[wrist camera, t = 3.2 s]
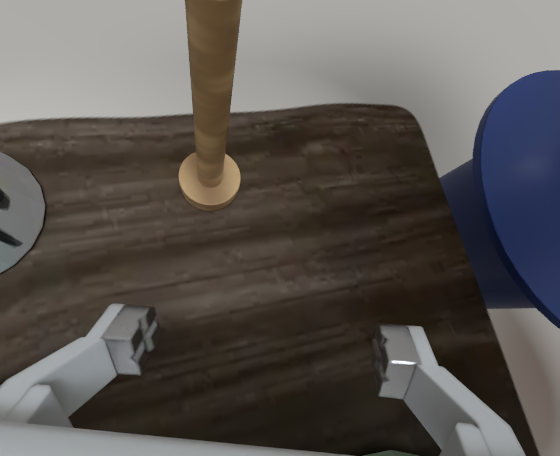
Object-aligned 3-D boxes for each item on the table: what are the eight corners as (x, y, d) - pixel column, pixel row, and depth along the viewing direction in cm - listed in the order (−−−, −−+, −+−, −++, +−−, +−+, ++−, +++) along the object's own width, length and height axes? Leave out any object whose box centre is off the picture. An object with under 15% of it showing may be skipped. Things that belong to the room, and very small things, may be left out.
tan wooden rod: (227, 151, 29) (255, -84, 12) (247, 200, 28) (309, 25, 11) (172, 165, 27) (113, -79, 10) (191, 218, 26) (162, 48, 9)
